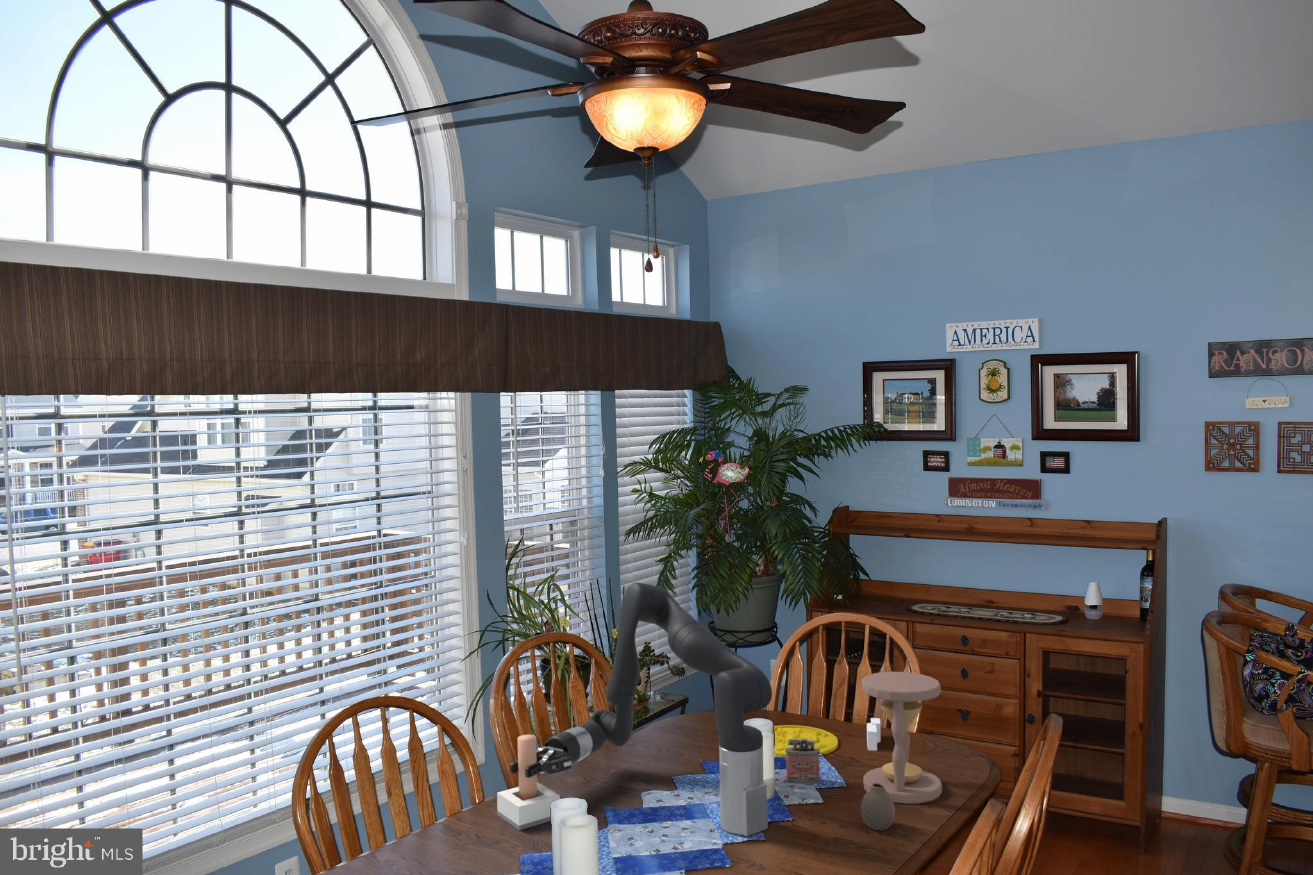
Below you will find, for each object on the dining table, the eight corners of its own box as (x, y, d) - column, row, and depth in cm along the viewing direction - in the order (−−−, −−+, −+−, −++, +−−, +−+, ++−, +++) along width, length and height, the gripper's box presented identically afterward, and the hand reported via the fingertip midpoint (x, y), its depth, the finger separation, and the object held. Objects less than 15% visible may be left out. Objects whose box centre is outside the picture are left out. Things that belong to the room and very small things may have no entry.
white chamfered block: (876, 756, 243) (876, 734, 243) (840, 745, 252) (840, 724, 252) (911, 743, 253) (910, 721, 253) (875, 733, 262) (875, 712, 262)
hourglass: (877, 770, 233) (875, 667, 232) (950, 783, 224) (948, 676, 223) (852, 795, 218) (851, 685, 217) (930, 809, 209) (928, 696, 208)
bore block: (560, 817, 208) (559, 795, 208) (519, 830, 202) (518, 806, 202) (537, 803, 216) (537, 781, 216) (497, 815, 210) (497, 792, 210)
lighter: (819, 778, 228) (819, 736, 228) (820, 783, 225) (820, 741, 225) (785, 777, 229) (784, 736, 229) (786, 783, 226) (785, 741, 225)
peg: (540, 806, 209) (539, 737, 208) (524, 810, 206) (523, 741, 206) (532, 800, 212) (530, 733, 212) (515, 805, 210) (514, 737, 209)
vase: (870, 816, 206) (870, 776, 206) (900, 825, 201) (900, 783, 201) (855, 827, 200) (855, 786, 200) (886, 836, 196) (885, 794, 196)
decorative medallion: (736, 753, 248) (736, 745, 248) (763, 725, 270) (763, 718, 269) (826, 764, 238) (826, 756, 238) (846, 735, 260) (846, 727, 260)
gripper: (544, 726, 225) (494, 748, 211) (592, 736, 217) (543, 759, 203) (545, 757, 225) (494, 782, 211) (593, 769, 217) (544, 795, 203)
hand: (519, 771), depth 207 cm, fingers closed on peg, 4 cm apart
